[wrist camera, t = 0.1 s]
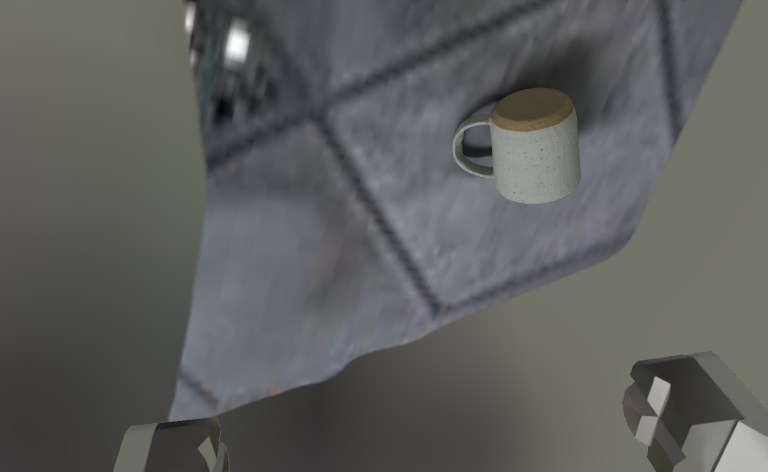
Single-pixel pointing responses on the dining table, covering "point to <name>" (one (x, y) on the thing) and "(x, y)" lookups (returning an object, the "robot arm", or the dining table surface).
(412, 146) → the dining table surface
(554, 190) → the ceramic mug
